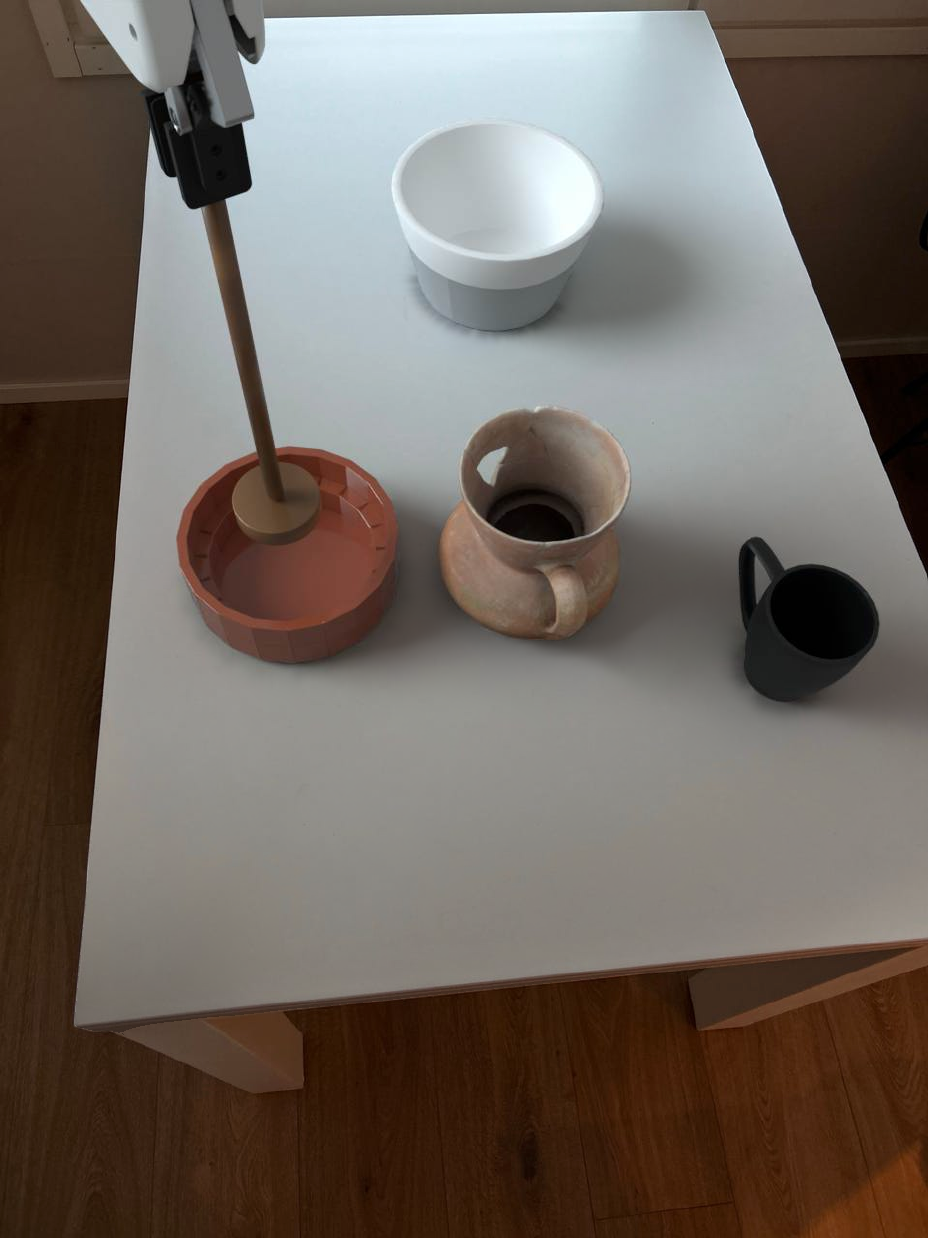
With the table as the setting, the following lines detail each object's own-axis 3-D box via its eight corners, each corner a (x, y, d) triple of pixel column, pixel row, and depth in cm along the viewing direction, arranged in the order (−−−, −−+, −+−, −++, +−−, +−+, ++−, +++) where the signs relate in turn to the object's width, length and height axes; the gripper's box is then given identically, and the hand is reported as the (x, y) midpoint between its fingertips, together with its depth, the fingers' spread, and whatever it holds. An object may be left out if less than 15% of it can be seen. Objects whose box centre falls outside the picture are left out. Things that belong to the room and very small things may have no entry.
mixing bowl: (247, 702, 73) (235, 667, 68) (160, 542, 80) (142, 499, 74) (435, 606, 78) (437, 567, 73) (338, 462, 84) (333, 417, 79)
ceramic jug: (422, 502, 83) (423, 389, 70) (585, 482, 85) (615, 368, 72) (460, 692, 74) (469, 602, 62) (640, 665, 76) (684, 572, 64)
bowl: (621, 316, 94) (644, 225, 85) (443, 375, 90) (446, 285, 80) (531, 194, 102) (543, 97, 93) (363, 242, 98) (357, 146, 88)
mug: (762, 574, 81) (802, 508, 73) (850, 692, 76) (904, 636, 68) (680, 610, 79) (712, 547, 70) (765, 734, 74) (810, 682, 66)
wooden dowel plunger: (258, 559, 66) (141, 124, 37) (221, 496, 68) (84, 41, 40) (337, 523, 67) (281, 80, 39) (298, 463, 70) (219, 4, 41)
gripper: (-120, -444, 30) (66, 109, 46) (60, -230, 24) (202, 320, 40) (110, -473, 32) (211, 65, 48) (328, -283, 26) (361, 260, 42)
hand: (207, 178), depth 44 cm, fingers closed on wooden dowel plunger
